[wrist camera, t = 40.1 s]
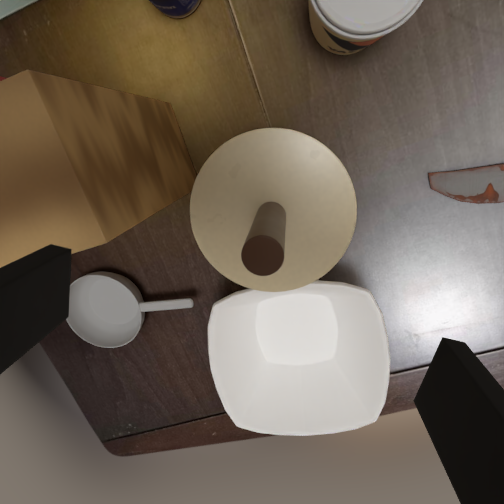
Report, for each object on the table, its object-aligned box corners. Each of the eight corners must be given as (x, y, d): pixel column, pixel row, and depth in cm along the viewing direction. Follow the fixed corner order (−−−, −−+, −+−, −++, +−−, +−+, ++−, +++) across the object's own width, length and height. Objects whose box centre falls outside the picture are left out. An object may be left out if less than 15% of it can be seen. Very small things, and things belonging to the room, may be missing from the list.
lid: (169, 159, 30) (103, 174, 19) (331, 102, 27) (357, 84, 17) (223, 302, 34) (193, 380, 23) (370, 264, 31) (412, 333, 20)
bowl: (370, 247, 45) (388, 273, 37) (377, 385, 51) (393, 433, 43) (209, 264, 48) (193, 291, 39) (234, 393, 54) (224, 439, 46)
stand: (95, 130, 43) (-116, 130, 21) (170, 102, 42) (27, 69, 19) (128, 208, 46) (-26, 283, 24) (200, 185, 44) (106, 243, 22)
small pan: (67, 270, 50) (50, 281, 46) (191, 253, 47) (182, 263, 44) (90, 337, 53) (76, 352, 50) (208, 325, 51) (201, 340, 47)
